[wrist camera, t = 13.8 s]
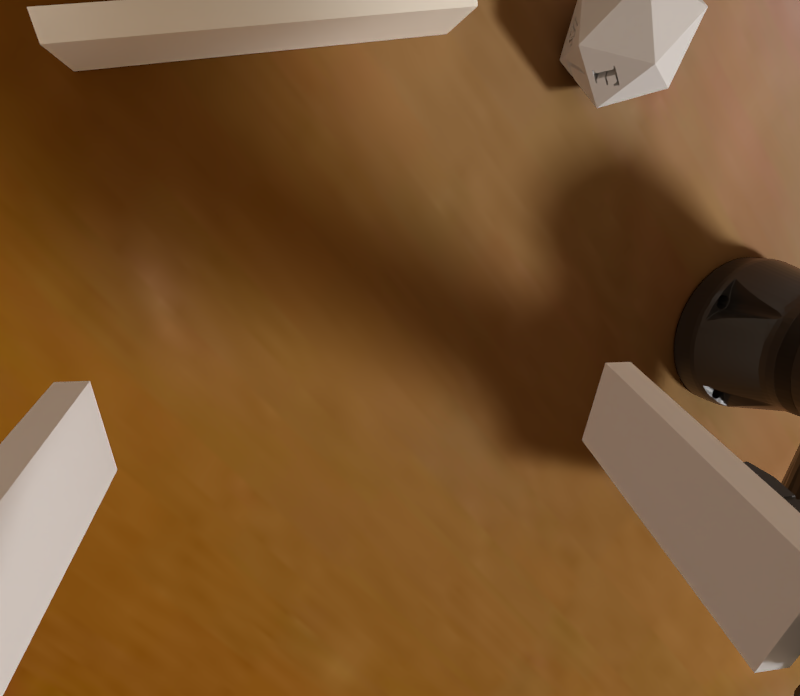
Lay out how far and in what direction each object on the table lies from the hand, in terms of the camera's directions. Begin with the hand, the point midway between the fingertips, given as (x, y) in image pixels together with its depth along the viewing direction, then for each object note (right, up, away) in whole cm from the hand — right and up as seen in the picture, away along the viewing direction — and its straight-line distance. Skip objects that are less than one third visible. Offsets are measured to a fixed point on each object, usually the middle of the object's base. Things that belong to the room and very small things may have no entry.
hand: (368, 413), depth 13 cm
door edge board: (-7, +22, +18) cm, 29 cm away
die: (+16, +25, +25) cm, 39 cm away
